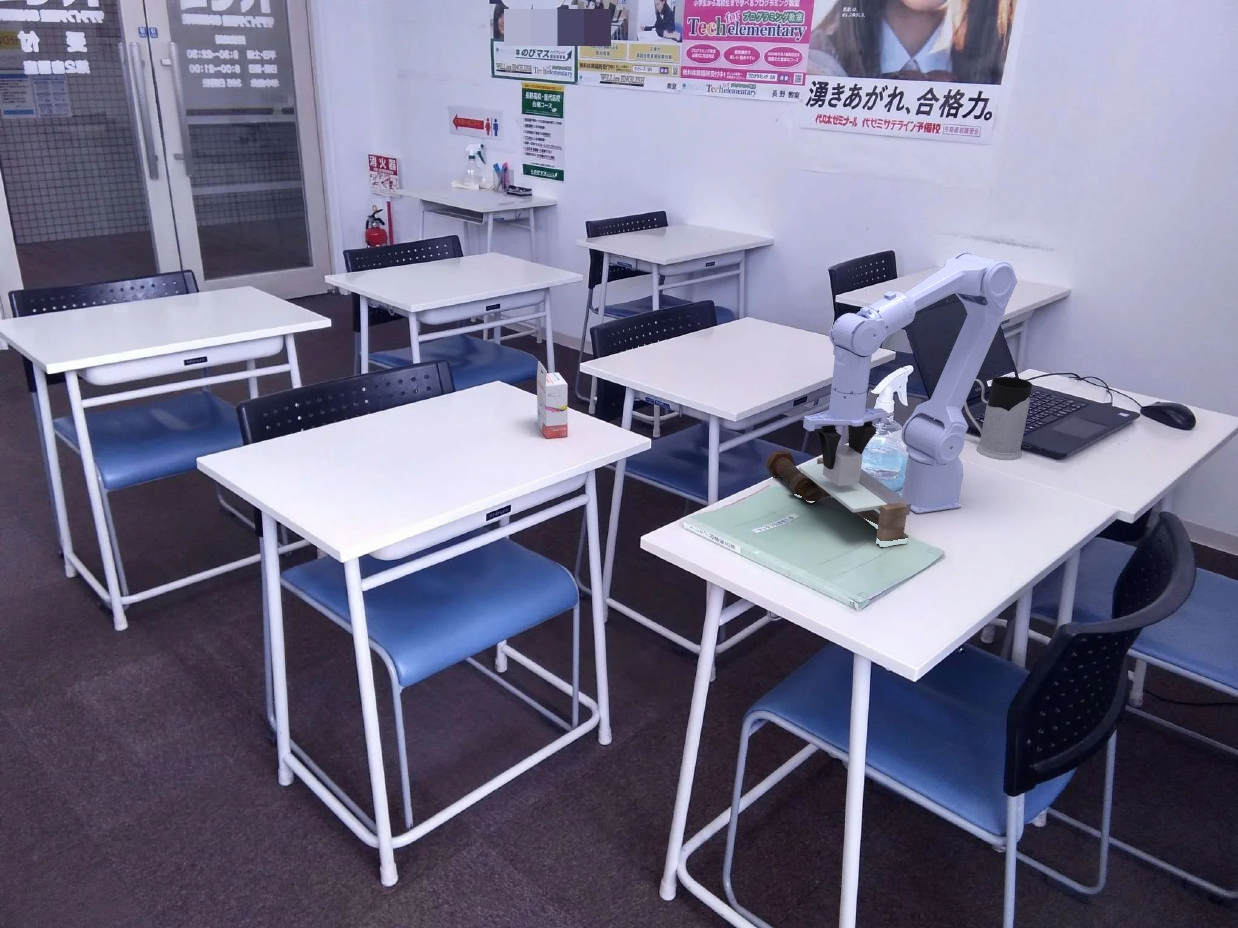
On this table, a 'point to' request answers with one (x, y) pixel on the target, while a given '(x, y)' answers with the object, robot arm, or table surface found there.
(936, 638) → the table surface
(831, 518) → the table surface
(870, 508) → the trapdoor
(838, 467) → the grey cube
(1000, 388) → the glass holder
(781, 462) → the bolt
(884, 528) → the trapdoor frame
